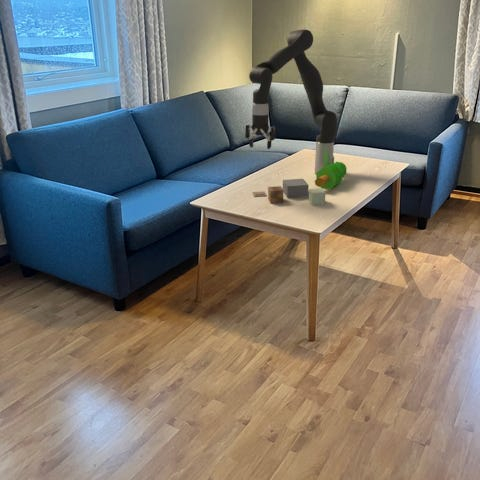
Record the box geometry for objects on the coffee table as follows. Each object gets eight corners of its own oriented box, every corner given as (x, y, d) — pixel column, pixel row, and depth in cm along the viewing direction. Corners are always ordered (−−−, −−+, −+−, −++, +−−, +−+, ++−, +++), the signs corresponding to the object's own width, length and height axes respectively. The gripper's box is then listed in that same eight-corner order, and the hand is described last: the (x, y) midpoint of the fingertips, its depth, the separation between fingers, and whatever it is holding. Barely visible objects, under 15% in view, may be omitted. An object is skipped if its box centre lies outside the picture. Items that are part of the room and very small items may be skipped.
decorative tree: (314, 166, 251) (340, 150, 273) (306, 186, 257) (332, 169, 280) (334, 179, 247) (359, 161, 269) (325, 198, 254) (350, 180, 276)
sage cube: (321, 200, 244) (322, 188, 242) (324, 204, 238) (325, 192, 236) (308, 201, 243) (309, 188, 241) (312, 205, 238) (312, 193, 235)
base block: (302, 190, 258) (303, 178, 256) (308, 197, 249) (308, 184, 247) (282, 191, 257) (282, 179, 254) (287, 198, 248) (287, 186, 245)
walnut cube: (280, 198, 248) (280, 186, 245) (283, 202, 242) (283, 190, 240) (268, 199, 247) (268, 186, 245) (270, 203, 242) (270, 191, 239)
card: (264, 192, 256) (264, 190, 256) (266, 196, 251) (266, 194, 250) (252, 192, 255) (252, 191, 255) (254, 196, 250) (254, 195, 250)
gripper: (277, 112, 242) (277, 147, 249) (249, 110, 248) (249, 144, 254) (272, 115, 236) (271, 151, 243) (242, 113, 241) (243, 148, 248)
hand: (260, 148), depth 248 cm, fingers open, 8 cm apart
